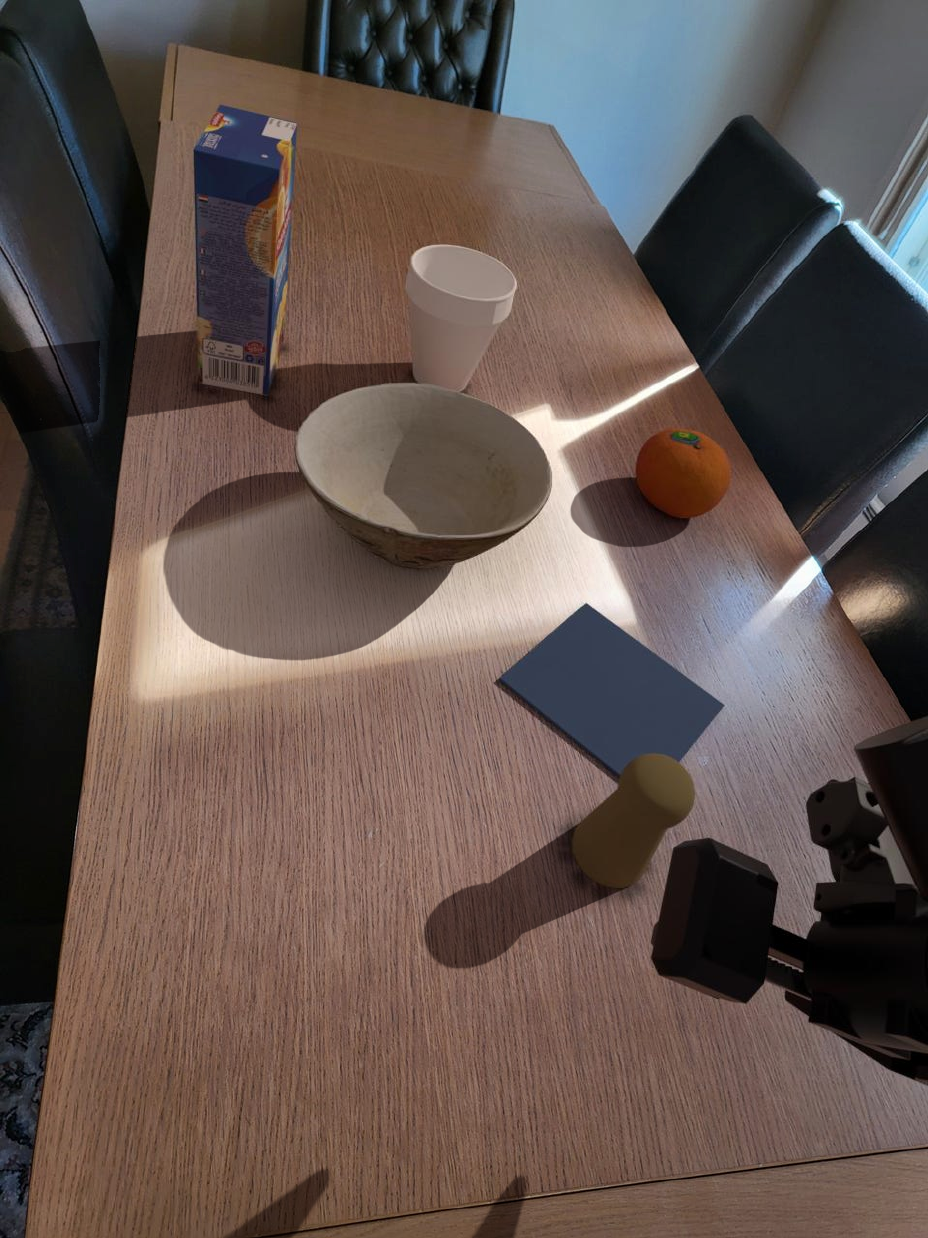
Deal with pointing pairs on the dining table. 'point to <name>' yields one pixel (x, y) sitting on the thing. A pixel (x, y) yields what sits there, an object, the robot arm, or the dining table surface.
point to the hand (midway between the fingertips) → (722, 963)
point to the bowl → (422, 471)
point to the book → (611, 692)
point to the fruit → (682, 472)
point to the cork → (633, 820)
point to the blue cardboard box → (242, 246)
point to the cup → (454, 311)
